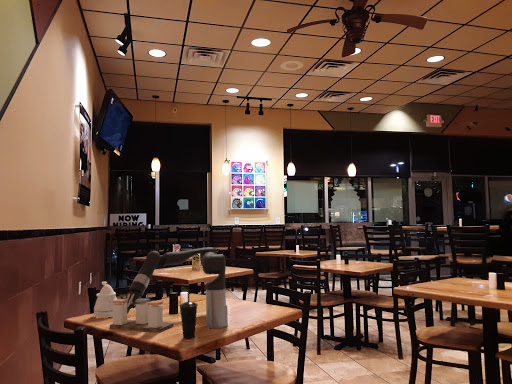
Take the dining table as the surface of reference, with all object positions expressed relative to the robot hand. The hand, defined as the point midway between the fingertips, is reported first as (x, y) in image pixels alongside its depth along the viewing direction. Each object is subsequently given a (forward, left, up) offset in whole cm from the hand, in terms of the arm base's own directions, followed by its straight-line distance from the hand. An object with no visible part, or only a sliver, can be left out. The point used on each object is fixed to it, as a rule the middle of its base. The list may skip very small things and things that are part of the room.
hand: (123, 314), depth 197 cm
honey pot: (+6, -29, -6) cm, 30 cm away
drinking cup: (-23, +35, -6) cm, 42 cm away
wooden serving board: (-7, +7, -5) cm, 11 cm away
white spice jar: (+2, +2, -4) cm, 4 cm away
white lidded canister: (-12, +16, -4) cm, 20 cm away
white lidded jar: (-8, +6, -4) cm, 11 cm away
